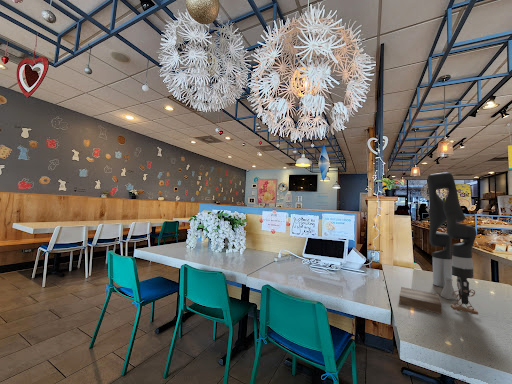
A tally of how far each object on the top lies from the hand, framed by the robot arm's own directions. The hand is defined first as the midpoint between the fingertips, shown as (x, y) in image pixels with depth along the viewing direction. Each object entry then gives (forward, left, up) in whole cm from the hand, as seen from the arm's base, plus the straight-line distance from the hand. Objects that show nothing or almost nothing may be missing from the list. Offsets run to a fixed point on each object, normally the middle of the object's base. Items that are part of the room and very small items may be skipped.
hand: (463, 300), depth 104 cm
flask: (-15, -4, -4) cm, 16 cm away
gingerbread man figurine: (0, 0, -4) cm, 4 cm away
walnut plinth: (+5, -17, -4) cm, 18 cm away
